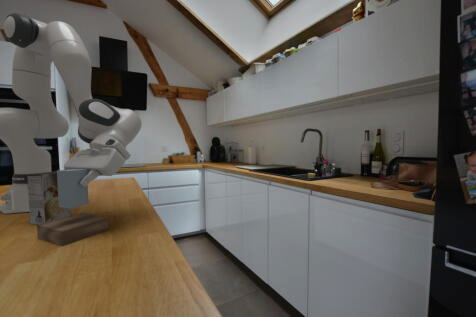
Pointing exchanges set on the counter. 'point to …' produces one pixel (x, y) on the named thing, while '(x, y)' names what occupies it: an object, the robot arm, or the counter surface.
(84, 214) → the walnut slab
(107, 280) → the counter surface
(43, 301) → the counter surface
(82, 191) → the slate block
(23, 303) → the counter surface
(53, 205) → the coffee box
